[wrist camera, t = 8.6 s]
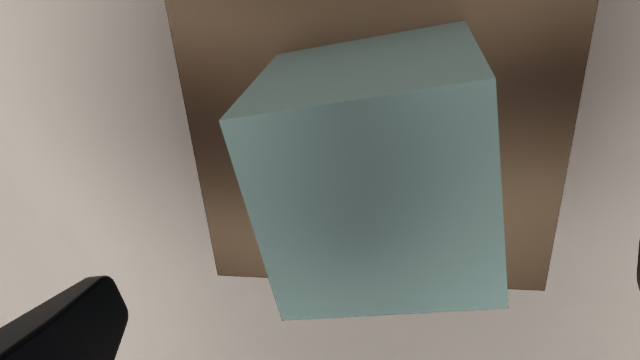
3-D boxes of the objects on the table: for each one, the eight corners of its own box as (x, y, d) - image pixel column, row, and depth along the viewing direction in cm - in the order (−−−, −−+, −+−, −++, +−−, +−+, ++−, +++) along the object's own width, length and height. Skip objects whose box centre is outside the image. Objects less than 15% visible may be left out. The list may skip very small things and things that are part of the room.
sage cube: (478, 191, 15) (508, 308, 11) (315, 208, 16) (281, 320, 12) (464, 20, 13) (496, 78, 8) (277, 54, 14) (218, 120, 10)
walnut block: (515, 209, 21) (544, 290, 16) (254, 203, 22) (217, 275, 18) (557, -98, 16) (616, -100, 11) (215, -74, 17) (151, -69, 13)
